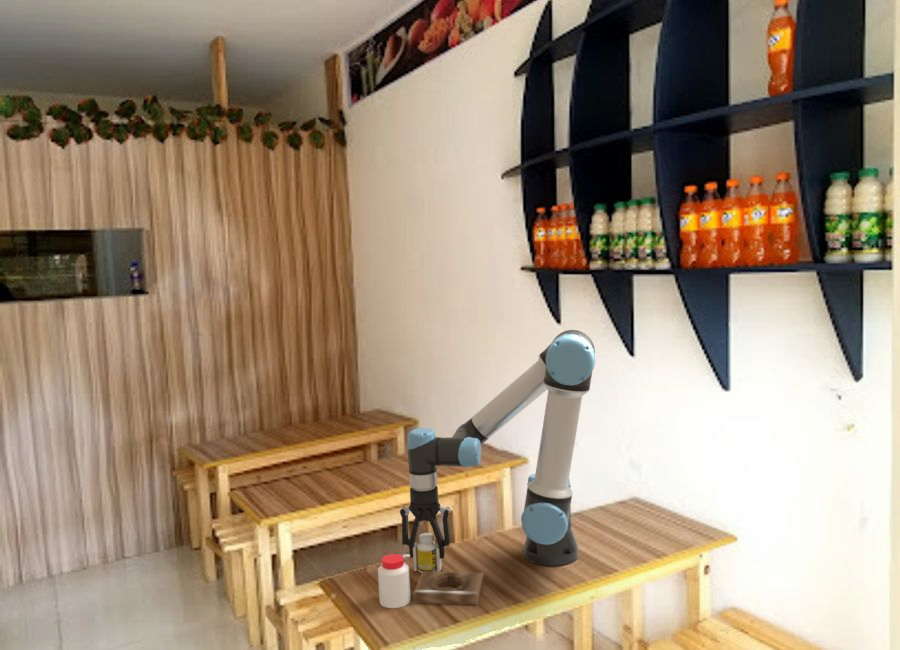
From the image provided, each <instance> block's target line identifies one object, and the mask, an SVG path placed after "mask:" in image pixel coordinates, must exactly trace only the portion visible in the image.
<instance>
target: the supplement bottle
mask: <svg viewBox="0 0 900 650" xmlns="http://www.w3.org/2000/svg"><path fill="white" fill-rule="evenodd" d="M418 540H419V541H418V543H417V544H418V545H417V560H418V569H417V571H418V573H421V574H422V572H423V571H434V572H437V558H436V547H437V545H438V544H437V542H435V534H434V533H431V532H423V533H420V534H419V535H418Z"/></svg>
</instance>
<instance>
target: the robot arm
mask: <svg viewBox="0 0 900 650" xmlns="http://www.w3.org/2000/svg"><path fill="white" fill-rule="evenodd" d="M595 349H596V348H595V345H594V343H593V341H592V339H591V338H590V337H589V336H588V335H587V334H586V333H584V332H583V331H581V330H577V329H568V330H564V331H562V332H560V333H559V334H557V335H556V336H555V337H554V338H553V340H552V342H551V343H550V344H549V345H548V346H547V347H546V348H545V349H544V350H542V352H540V354H539V355H538V360H537V361H536V362H535V363H533V364H532V365H531V366H530V367H529V368H528V369H526V370H525V371H524V372H523V373H522V374H521V375H520V376H518V378H516V379H515V380H514V381H513V382H512V383H510V384H509V385H508V386H506V388H504V389H503V390H502V391H501V392H499V393H498V394H497V395H495V397H494V398H493V399H492V400H490V401H489V402H488V403H487V404H486V405H484V407H482V408H481V409H480V410H479V411H477V412H476V413H475V414H474V415H473V416H472V417H471V418H469V419H468V420H467V421H466V422H465V423H462V424H461V425H460V426H459V427H457V429H456V430H455V432H454V434H453V435H452V436H451V437H440V436H439V437H438V436H437V435H436V432H435V430H434V429H433V428H424V427H419V428H415V429H412V430H410V431H409V432H408V434H407V447H406V450H407V458H408V459H407V461H408V477H409V478H408V479H409V483H408V484H409V487H410V488H409V499H410V502H409V503H410V504H409V505H408V506H402V507H401V508H400V510H399V515H400V517H401V544H402V545H403V546H404V545H405V546H408V548H409V549H408V550H409V557H410V559H413V571H414V572H416V571H418V560H417V545H418V543H416V539H417V535H418V531H419V526H420V523H421V522H424V521H426V522H429V524H430V526H431V529H432V531H433V535H434V538H435V539H436V545H437V547H436V558H437V571H436V572H441V570H442V559H444V558H445V556H446V554H445V553H446V551H445V547H448V546H450V543H451V541H452V538H451V529H450V517H449V515H450V511H451V508H450V507H449V506H448V507H447V506H446V507H443V506H441V503H439V487H438V486H437V485H438V468H437V467H463V468H468V467H469V468H470V467H477V466H479V465H480V463H481V460H482V445H483V444H484V443H485V442H486V441H487V440H489V438H491V437H492V436H493V435H494V434H495V433H497V432H498V431H499V430H501V429H502V428H503V427H504V426H505V425H507V424H508V423H509V422H510V421H511V420H512V419H513V418H515V417H516V416H517V415H518V414H519V413H521V412H522V411H523V410H524V409H526V408H527V407H528V406H529V405H531V404H532V402H534V401H535V400H536V399H538V398H539V397H540V396H542V394H544V393H545V392H546V391H548V392H547V397H546V402H545V403H546V404H545V408H544V409H545V410H544V416H543V422H542V429H541V434H540V436H541V437H540V443H539V448H538V454H537V455H538V456H537V461H536V468H535V473H533V474H530V475H529V476H528V478H527V483H526V484H527V486H526V487H527V488H526V495H525V501H524V508H523V511H522V514H521V517H520V520H521V521H520V522H521V527H522V531H523V532H524V534H525V535H526V539H525V542H524V546H523V551H524V553H523V554H524V557H525V558H526V560H528V561H529V562H531V563H534V564H537V565H541V566H547V567H548V566H551V567H553V566H554V567H555V566H556V567H557V566H564V565H567V564H570V563H573V562H575V561H576V560H577V559H578V558H579V546H578V543H577V539H576V537H575V534H574V532H573V529H572V508H571V507H572V505H571V504H572V499H573V490H572V489H571V487H572V485H571V481H570V480H571V479H570V474H571V473H570V472H571V467H572V461H573V457H574V456H573V455H574V449H575V443H576V436H577V430H578V423H579V417H580V411H581V407H582V405H581V404H582V399H583V396H585V395H586V394H587V393H588V392H590V389H591V384H592V383H591V382H592V375H593V371H594V369H595V365H596V355H595V353H596V351H595ZM410 512H411V514H412V515H413V516H414V521H413V526H412V531H411V533H410V538H409V514H410ZM439 512H440V515H441V517H442V526H443V528H442V529H443V534H442V532H441V528H440V525H439V523H438V518H437V515H438V513H439Z"/></svg>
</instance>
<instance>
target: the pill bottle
mask: <svg viewBox="0 0 900 650" xmlns="http://www.w3.org/2000/svg"><path fill="white" fill-rule="evenodd" d="M377 580H378V581H377V582H378V597H379V598H378V599H379V604H380V605H381V606H382V607H384V608H386V609H399V608H403V607H405V606H407V605H408V604H410V602H411V584H410V583H411V582H410V567H409V565H408V564H407V563H406V562H405V557H404V555H401V554H398V553H391V554H387V555H384V556H383V557H382V558H381V565H379V567H378V568H377Z"/></svg>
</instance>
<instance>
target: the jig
mask: <svg viewBox="0 0 900 650" xmlns="http://www.w3.org/2000/svg"><path fill="white" fill-rule="evenodd" d="M484 581H485V580H484V572H458V571H440V572H437V571H436V572H434V571H423V572H422V573H421V575H420V578H419V579H418V582H417V583H416V586H415V589H414V591H413V594H412V595H413V596H412V597H413V603H414V604H415V603H416V604H436V605H437V604H439V605H443V604H444V605H461V606H462V605H464V606H478V605H479V603H480V598H481V594H482V591H483V586H484ZM448 586H450V587H452V586H453V587H455V588H451V589H450V588H449V589H447V588H445V589H443V588H444V587H448Z"/></svg>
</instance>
